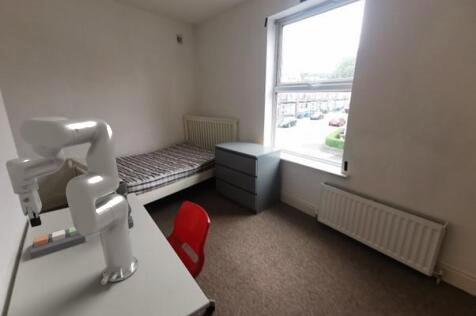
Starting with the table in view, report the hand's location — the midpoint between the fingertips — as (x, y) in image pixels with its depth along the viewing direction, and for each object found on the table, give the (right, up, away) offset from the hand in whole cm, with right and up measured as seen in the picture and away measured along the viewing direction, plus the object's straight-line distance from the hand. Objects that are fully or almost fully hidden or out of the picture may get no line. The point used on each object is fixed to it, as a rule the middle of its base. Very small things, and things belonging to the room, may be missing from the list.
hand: (36, 225), depth 95 cm
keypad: (+5, -10, +7) cm, 13 cm away
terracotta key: (0, -10, +3) cm, 10 cm away
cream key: (+5, -9, +6) cm, 12 cm away
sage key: (+10, -8, +10) cm, 16 cm away
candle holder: (+30, -7, +20) cm, 37 cm away
